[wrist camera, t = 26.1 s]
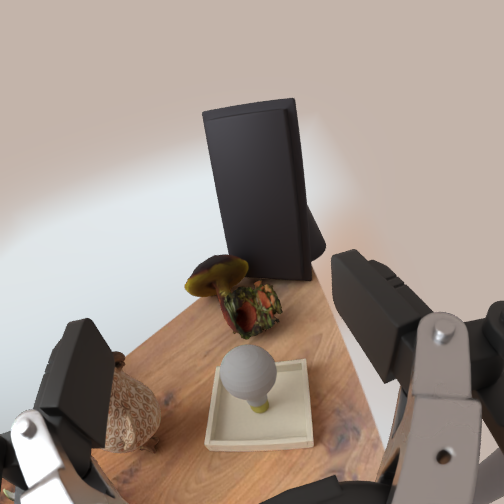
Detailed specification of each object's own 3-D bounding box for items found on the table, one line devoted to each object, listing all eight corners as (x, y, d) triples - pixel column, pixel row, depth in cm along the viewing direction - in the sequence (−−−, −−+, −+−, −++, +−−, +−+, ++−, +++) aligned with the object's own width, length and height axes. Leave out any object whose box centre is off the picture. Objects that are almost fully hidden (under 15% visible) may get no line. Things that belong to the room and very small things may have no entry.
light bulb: (249, 384, 34) (230, 328, 29) (291, 395, 31) (281, 339, 27) (228, 419, 30) (202, 368, 25) (272, 434, 27) (256, 385, 22)
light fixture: (330, 235, 65) (318, 98, 52) (316, 288, 48) (299, 96, 35) (258, 234, 71) (238, 107, 58) (223, 282, 54) (188, 114, 41)
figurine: (192, 446, 28) (130, 368, 20) (126, 483, 23) (38, 418, 16) (159, 397, 34) (104, 314, 27) (101, 430, 30) (31, 354, 22)
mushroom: (281, 338, 49) (249, 264, 56) (291, 318, 38) (250, 227, 45) (212, 363, 47) (186, 285, 53) (201, 350, 36) (171, 252, 42)
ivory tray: (306, 367, 35) (306, 358, 34) (313, 447, 25) (313, 440, 24) (220, 375, 36) (216, 366, 36) (209, 451, 27) (203, 444, 26)
